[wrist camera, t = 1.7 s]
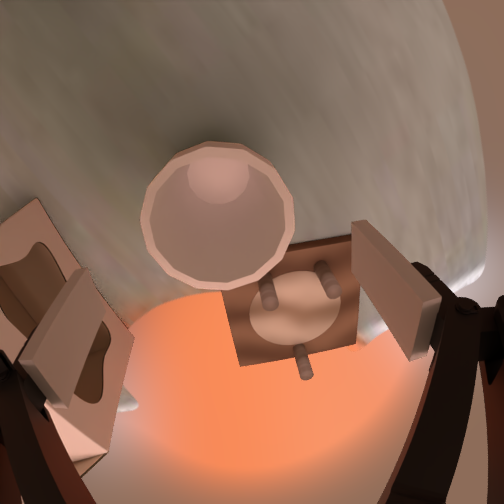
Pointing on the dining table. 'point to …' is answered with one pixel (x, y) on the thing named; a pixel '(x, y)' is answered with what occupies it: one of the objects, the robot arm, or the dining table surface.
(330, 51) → the dining table surface
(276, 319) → the pin board
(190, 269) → the foam cup
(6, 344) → the gable box
